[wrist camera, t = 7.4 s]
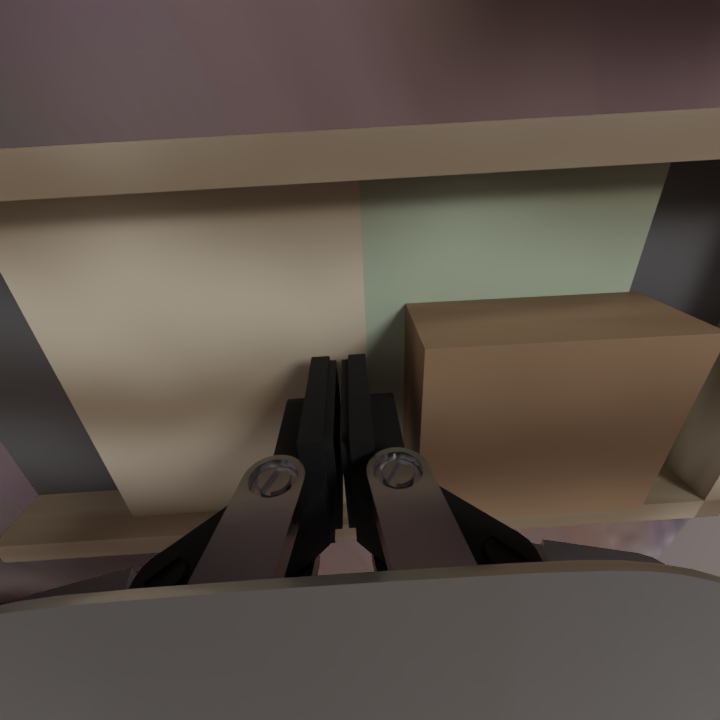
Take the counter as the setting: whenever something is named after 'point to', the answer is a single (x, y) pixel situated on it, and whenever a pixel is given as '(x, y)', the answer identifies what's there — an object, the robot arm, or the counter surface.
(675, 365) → the walnut block
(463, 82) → the counter surface
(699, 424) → the tray
